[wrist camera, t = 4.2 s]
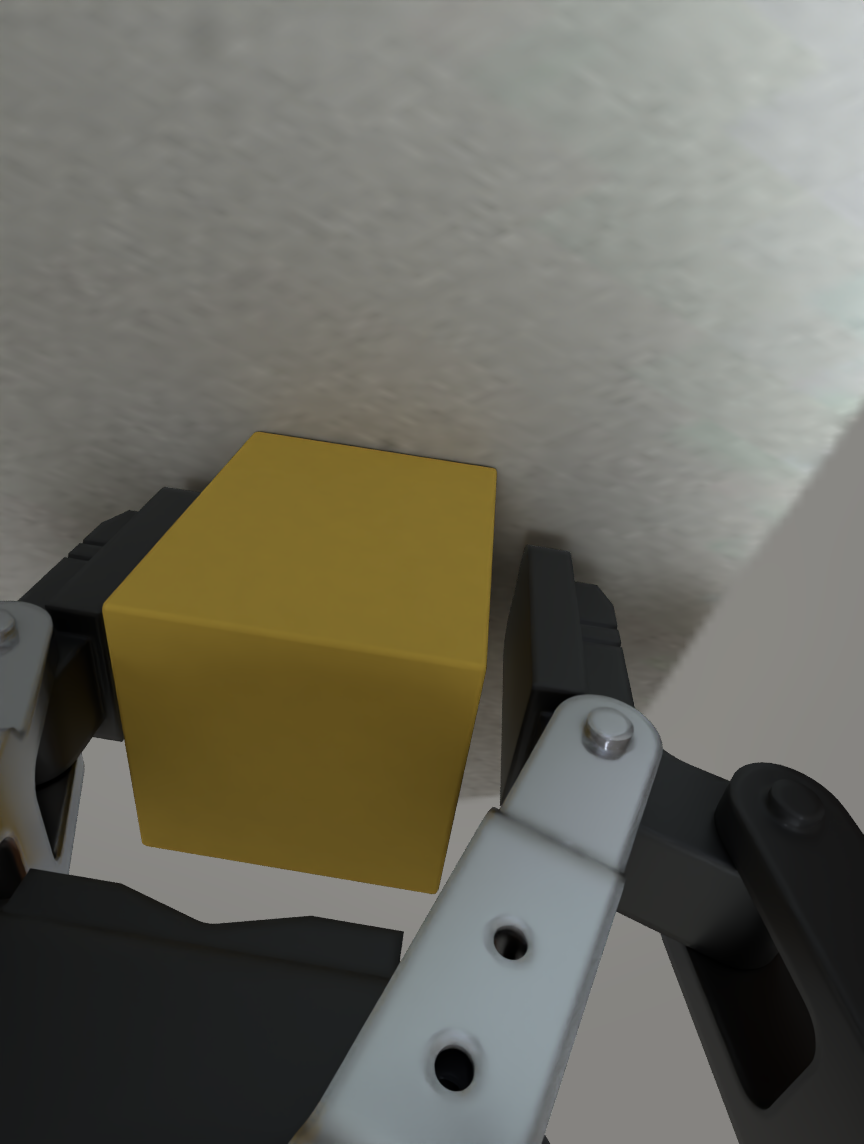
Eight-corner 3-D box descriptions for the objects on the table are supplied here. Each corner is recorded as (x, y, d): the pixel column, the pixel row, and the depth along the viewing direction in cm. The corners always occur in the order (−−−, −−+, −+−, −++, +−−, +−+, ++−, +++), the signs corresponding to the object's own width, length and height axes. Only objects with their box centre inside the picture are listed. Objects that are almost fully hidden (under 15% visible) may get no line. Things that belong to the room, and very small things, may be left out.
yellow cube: (258, 623, 13) (140, 847, 9) (254, 429, 11) (98, 604, 7) (462, 656, 13) (437, 897, 9) (498, 467, 11) (487, 667, 7)
